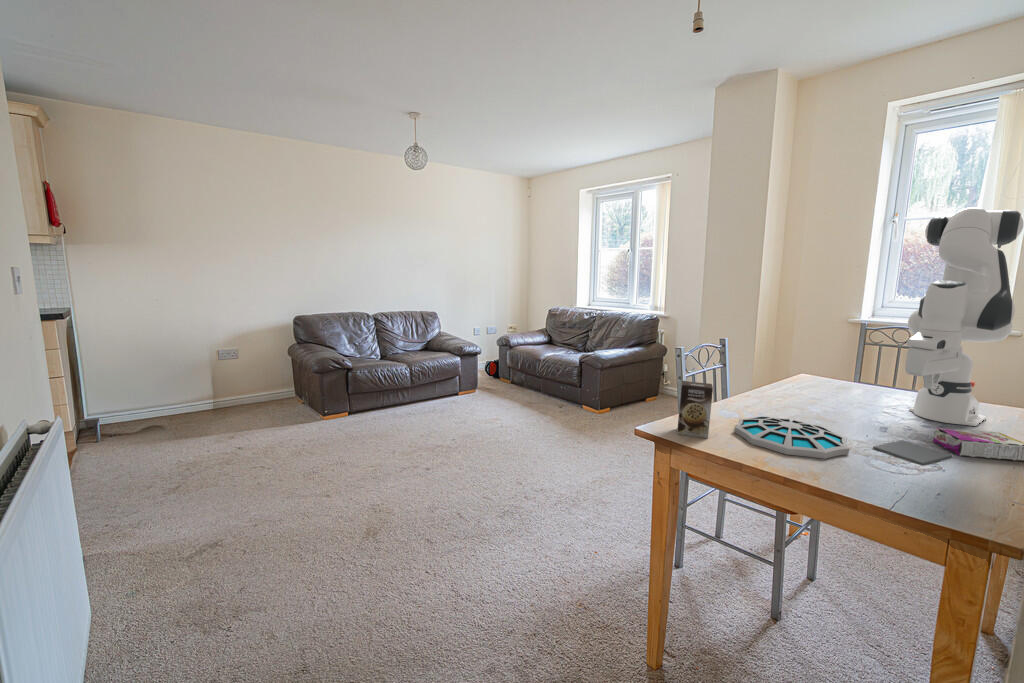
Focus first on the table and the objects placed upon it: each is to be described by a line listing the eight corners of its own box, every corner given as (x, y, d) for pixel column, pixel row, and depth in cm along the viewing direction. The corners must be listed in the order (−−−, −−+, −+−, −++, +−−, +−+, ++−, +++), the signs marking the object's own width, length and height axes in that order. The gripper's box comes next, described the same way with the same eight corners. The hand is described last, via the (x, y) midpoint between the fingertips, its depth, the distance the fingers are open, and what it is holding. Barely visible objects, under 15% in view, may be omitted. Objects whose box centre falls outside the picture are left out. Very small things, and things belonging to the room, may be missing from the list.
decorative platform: (875, 460, 125) (878, 443, 124) (773, 460, 123) (775, 443, 122) (800, 422, 155) (802, 408, 154) (717, 422, 154) (719, 408, 153)
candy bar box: (934, 426, 137) (999, 431, 134) (932, 442, 138) (996, 447, 135) (962, 439, 126) (1033, 445, 123) (959, 456, 127) (1029, 462, 124)
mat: (902, 441, 138) (902, 439, 137) (952, 457, 127) (952, 455, 127) (872, 448, 132) (873, 446, 132) (922, 465, 121) (923, 463, 121)
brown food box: (677, 434, 141) (680, 384, 138) (677, 428, 147) (681, 379, 144) (708, 439, 138) (713, 387, 135) (707, 432, 144) (712, 382, 141)
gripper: (945, 335, 131) (937, 381, 134) (903, 340, 124) (895, 388, 126) (973, 339, 126) (964, 387, 128) (932, 344, 118) (923, 395, 120)
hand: (930, 388), depth 127 cm, fingers closed
